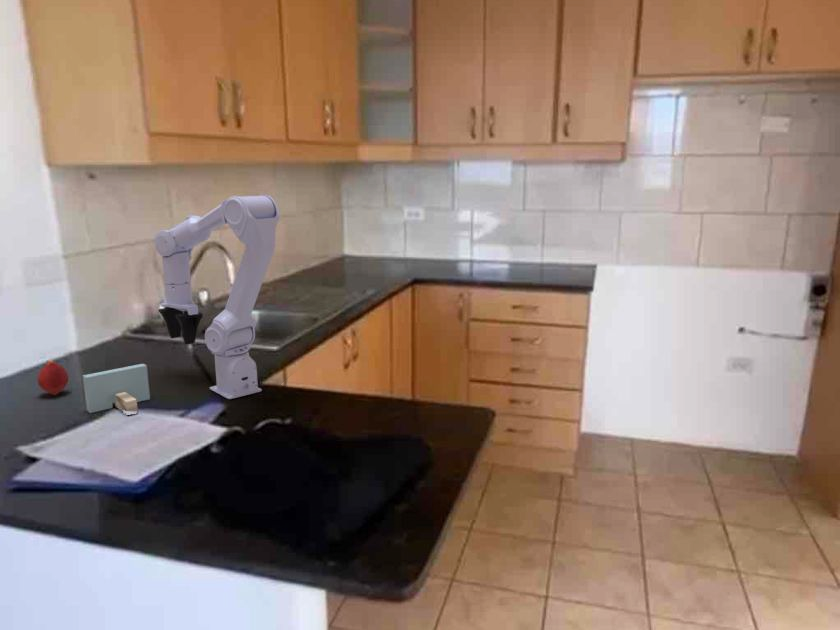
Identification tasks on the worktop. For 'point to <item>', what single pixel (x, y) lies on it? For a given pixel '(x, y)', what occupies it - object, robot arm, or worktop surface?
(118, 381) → the teal plate
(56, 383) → the onion
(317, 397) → the worktop surface
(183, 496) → the worktop surface
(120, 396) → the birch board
